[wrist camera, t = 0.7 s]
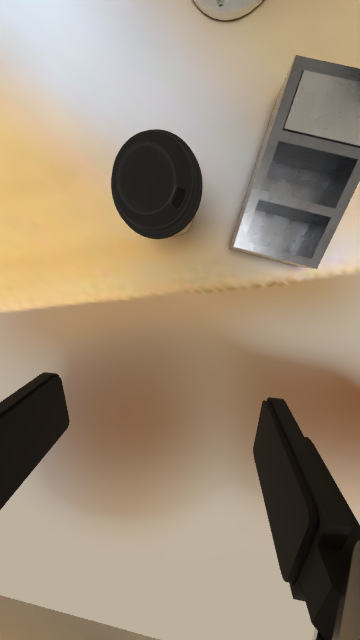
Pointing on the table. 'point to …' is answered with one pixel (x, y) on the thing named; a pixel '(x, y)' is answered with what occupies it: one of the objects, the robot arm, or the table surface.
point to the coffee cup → (156, 184)
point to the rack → (304, 166)
